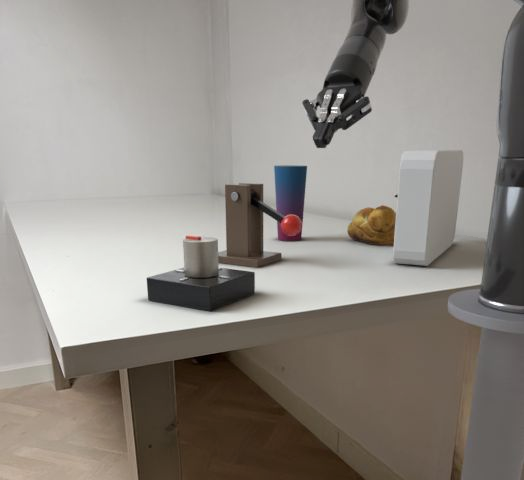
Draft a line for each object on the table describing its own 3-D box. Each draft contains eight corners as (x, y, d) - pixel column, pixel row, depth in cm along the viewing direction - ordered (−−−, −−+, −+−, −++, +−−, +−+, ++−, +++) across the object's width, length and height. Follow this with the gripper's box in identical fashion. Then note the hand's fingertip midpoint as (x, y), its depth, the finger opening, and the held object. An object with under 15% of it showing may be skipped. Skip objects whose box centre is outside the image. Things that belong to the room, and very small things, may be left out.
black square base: (255, 293, 74) (254, 270, 73) (210, 311, 66) (209, 285, 65) (196, 285, 79) (195, 263, 78) (147, 300, 71) (146, 276, 70)
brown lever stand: (281, 259, 97) (282, 183, 93) (257, 267, 91) (257, 186, 86) (234, 254, 102) (233, 182, 98) (208, 261, 96) (205, 184, 91)
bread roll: (336, 240, 118) (338, 201, 115) (370, 236, 123) (372, 198, 120) (380, 248, 108) (383, 206, 105) (414, 243, 113) (418, 203, 110)
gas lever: (300, 238, 91) (308, 219, 90) (290, 241, 89) (298, 222, 87) (240, 199, 95) (247, 181, 93) (229, 201, 92) (235, 182, 91)
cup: (292, 242, 114) (293, 166, 109) (267, 239, 118) (267, 165, 113) (311, 238, 119) (313, 165, 114) (286, 235, 123) (287, 165, 118)
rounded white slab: (416, 241, 116) (424, 150, 110) (454, 243, 113) (464, 150, 107) (378, 264, 93) (386, 150, 86) (424, 269, 89) (436, 150, 83)
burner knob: (225, 273, 72) (224, 236, 71) (205, 279, 69) (203, 240, 67) (198, 269, 74) (197, 233, 73) (177, 275, 71) (175, 237, 69)
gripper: (312, 55, 98) (277, 127, 93) (383, 48, 92) (350, 126, 86) (323, 90, 104) (291, 160, 99) (391, 86, 98) (361, 161, 92)
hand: (319, 144), depth 92 cm, fingers closed
